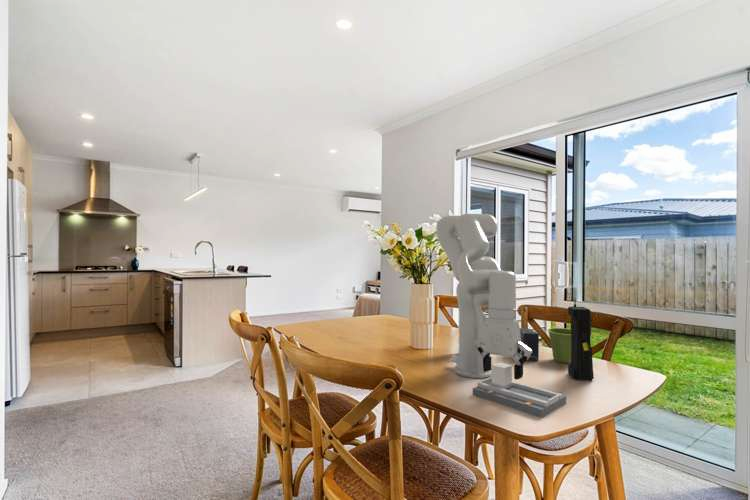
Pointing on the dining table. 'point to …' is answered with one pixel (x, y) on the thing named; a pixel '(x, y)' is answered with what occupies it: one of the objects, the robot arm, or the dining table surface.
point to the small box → (530, 343)
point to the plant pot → (561, 344)
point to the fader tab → (502, 375)
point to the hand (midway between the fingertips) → (502, 374)
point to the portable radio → (580, 344)
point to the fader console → (521, 397)
